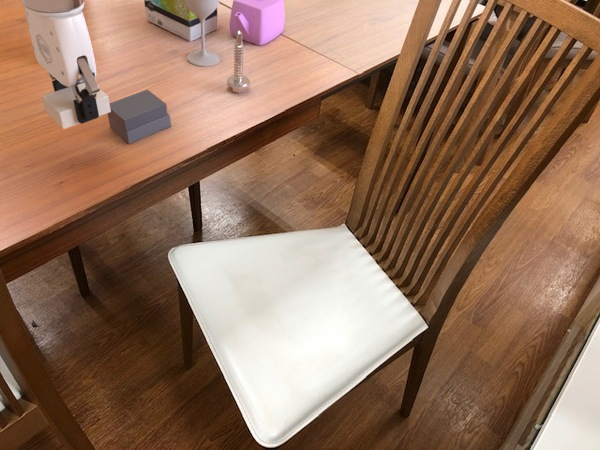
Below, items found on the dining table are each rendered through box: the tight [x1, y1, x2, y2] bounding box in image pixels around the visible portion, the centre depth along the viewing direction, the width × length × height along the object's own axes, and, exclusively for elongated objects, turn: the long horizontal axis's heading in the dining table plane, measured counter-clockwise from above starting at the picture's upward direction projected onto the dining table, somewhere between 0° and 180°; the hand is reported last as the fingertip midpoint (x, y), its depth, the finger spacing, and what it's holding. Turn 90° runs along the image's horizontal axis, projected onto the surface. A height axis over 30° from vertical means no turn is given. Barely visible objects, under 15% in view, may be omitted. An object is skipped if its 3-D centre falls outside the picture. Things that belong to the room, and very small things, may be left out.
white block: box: [40, 83, 111, 130], centre depth 79 cm, size 8×6×3 cm
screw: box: [226, 30, 251, 94], centre depth 102 cm, size 13×5×5 cm
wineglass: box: [184, 0, 221, 68], centre depth 107 cm, size 8×8×21 cm
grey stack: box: [106, 89, 172, 145], centre depth 93 cm, size 9×6×5 cm
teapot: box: [229, 0, 286, 46], centre depth 122 cm, size 18×10×10 cm, turn 150°
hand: (78, 109), depth 80 cm, fingers closed on white block, 5 cm apart
